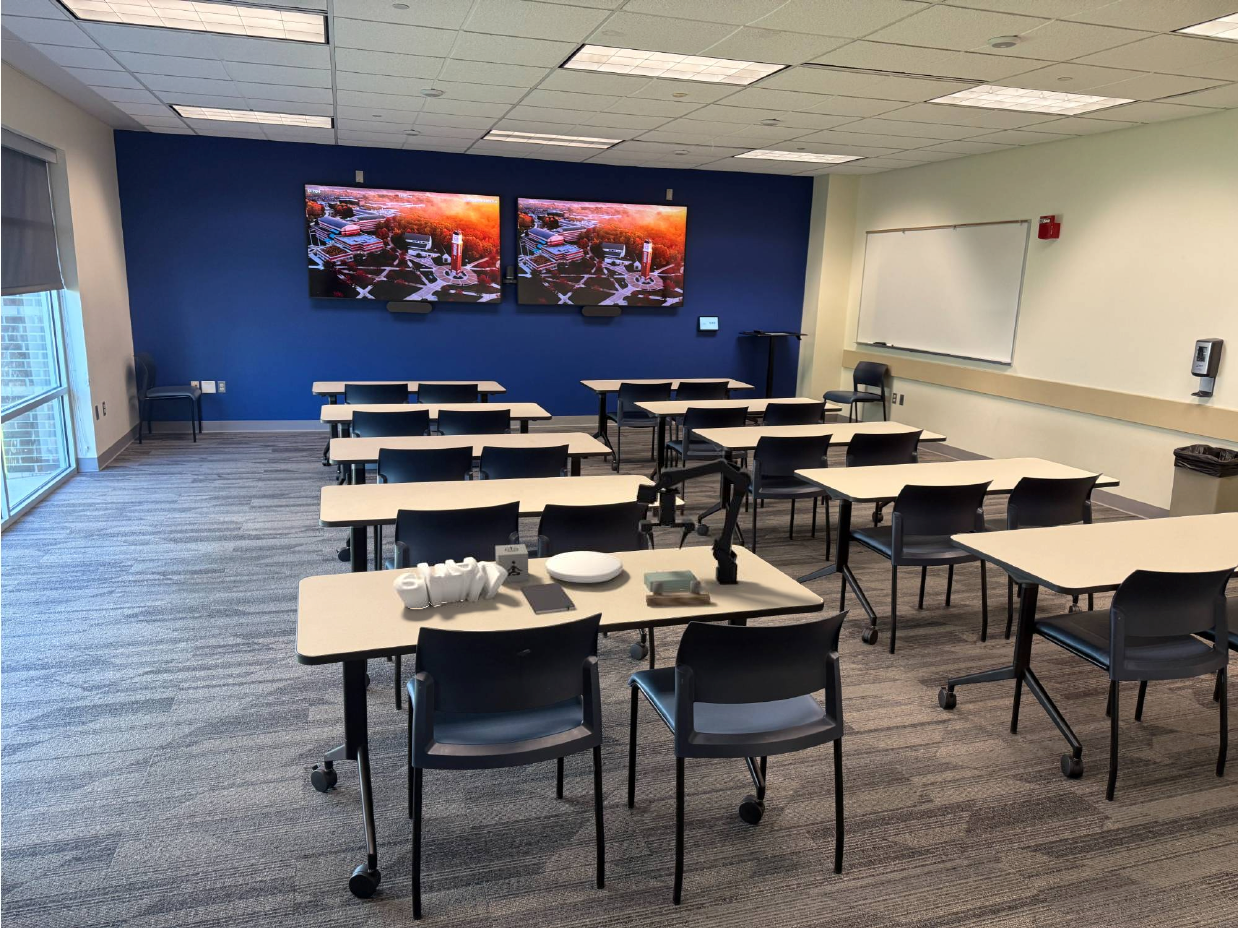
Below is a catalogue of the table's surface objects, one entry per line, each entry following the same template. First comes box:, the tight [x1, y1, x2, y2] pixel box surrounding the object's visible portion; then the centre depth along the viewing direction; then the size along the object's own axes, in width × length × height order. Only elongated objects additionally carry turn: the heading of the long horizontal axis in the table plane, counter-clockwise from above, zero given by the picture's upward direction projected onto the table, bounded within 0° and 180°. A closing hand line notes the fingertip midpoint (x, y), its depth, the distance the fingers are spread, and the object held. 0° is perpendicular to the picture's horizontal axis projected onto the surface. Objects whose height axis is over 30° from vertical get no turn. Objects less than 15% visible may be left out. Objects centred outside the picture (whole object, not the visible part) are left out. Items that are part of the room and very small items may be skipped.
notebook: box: [520, 582, 576, 615], centre depth 257 cm, size 13×2×21 cm
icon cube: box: [495, 543, 529, 584], centre depth 275 cm, size 10×10×10 cm
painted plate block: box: [643, 569, 698, 593], centre depth 270 cm, size 16×8×4 cm, turn 103°
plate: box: [544, 550, 624, 584], centre depth 279 cm, size 28×6×27 cm
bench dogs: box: [645, 579, 711, 607], centre depth 256 cm, size 20×6×6 cm, turn 96°
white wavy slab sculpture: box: [393, 556, 508, 608], centre depth 255 cm, size 35×16×11 cm, turn 112°
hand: (666, 549), depth 278 cm, fingers open, 9 cm apart
